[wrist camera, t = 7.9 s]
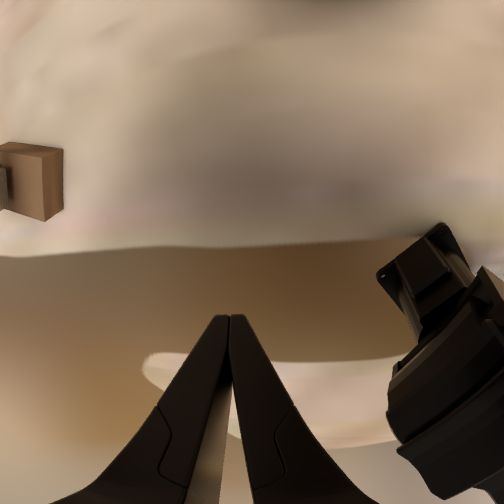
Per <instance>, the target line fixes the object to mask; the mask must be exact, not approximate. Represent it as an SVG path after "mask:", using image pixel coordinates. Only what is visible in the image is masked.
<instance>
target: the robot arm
mask: <svg viewBox="0 0 504 504" xmlns="http://www.w3.org/2000/svg"><path fill="white" fill-rule="evenodd" d="M442 229H444V231H443V232H442V233H441V230H442ZM477 274H478V275H477V276H476V277H475V276H474V275H473V274H472V272H471V270H470V268H469V266H468V264H467V262H466V260H465V258H464V255H463V253H462V251H461V250H460V247H459V245H458V244H457V242H456V240H455V238H454V236H453V234H452V232H451V230H450V228H449V227H448V226H447V225H446V224H445V223H440V224H438V225H437V226H436V227H435V228H434V229H432V230H431V231H430V232H429V233H427V234H426V235H425V236H424V237H422V238H420V239H419V240H418V241H416V242H415V243H414V244H413V245H411V246H410V247H409V248H407V249H406V250H405V251H404V252H402V253H401V254H399V255H398V256H397V257H396V258H395V259H394V260H392V261H391V262H390V263H388V264H387V265H386V266H384V267H383V268H381V269H380V270H379V271H378V272H377V273H376V278H377V280H378V282H379V283H380V285H381V286H382V287H383V288H384V289H385V291H386V292H387V293H388V294H389V295H390V297H391V298H392V299H393V301H394V302H395V303H396V304H397V306H398V307H399V308H400V309H401V311H402V312H403V313H404V314H405V316H406V318H407V321H408V324H409V326H410V329H411V331H412V334H413V337H414V339H415V342H416V345H417V346H416V347H415V348H414V349H413V350H412V351H411V352H410V353H409V354H408V355H407V356H406V357H404V358H403V359H402V360H401V361H398V362H397V363H396V364H395V365H394V366H393V372H392V380H391V381H390V383H389V388H388V393H387V395H388V410H387V411H386V419H387V421H388V424H389V426H390V428H391V430H392V432H393V434H394V436H395V437H396V438H397V440H398V441H399V442H400V443H401V444H402V445H401V446H400V447H398V448H397V453H398V454H399V455H401V456H402V457H404V458H405V459H407V460H409V462H410V463H411V464H412V465H413V466H414V467H415V468H416V469H417V470H418V471H419V473H420V474H421V476H422V478H423V479H424V481H425V483H426V485H427V486H428V488H429V490H430V491H431V493H433V494H434V495H436V496H438V497H439V498H441V499H443V500H447V499H449V498H451V497H453V496H455V495H458V494H459V493H462V492H464V491H466V490H468V489H470V488H471V487H473V488H477V489H482V490H485V491H486V492H487V493H488V494H489V496H490V497H491V498H492V500H493V501H494V502H495V504H504V282H503V281H502V280H501V279H499V278H498V277H497V276H496V275H494V274H493V273H492V272H490V271H489V270H488V269H486V268H485V267H484V266H482V267H481V268H480V269H479V271H478V272H477ZM382 275H385V276H384V277H383V278H381V276H382ZM232 384H233V390H234V397H235V403H236V409H237V415H238V421H239V427H240V433H241V439H242V445H243V450H244V456H245V461H246V467H247V472H248V478H249V482H250V488H251V493H252V498H253V503H254V504H379V503H377V502H376V501H374V500H372V499H371V498H369V497H368V496H367V495H365V494H364V493H363V492H362V491H361V490H360V489H359V488H357V486H355V485H354V483H353V482H352V481H351V480H350V479H349V478H348V477H347V476H346V474H345V473H344V472H343V471H342V470H341V469H340V468H339V466H338V465H337V464H336V463H335V462H334V460H333V459H332V458H331V457H330V455H329V454H328V453H327V452H326V451H325V449H324V448H323V447H322V446H321V444H320V443H319V442H318V440H317V439H316V438H315V436H314V435H313V434H312V432H311V431H310V429H309V428H308V426H307V424H306V423H305V421H304V420H303V418H302V417H301V415H300V413H299V411H298V410H297V408H296V406H294V403H293V401H292V399H291V398H290V396H289V394H288V392H287V391H286V389H285V387H284V385H283V383H282V382H281V380H280V378H279V376H278V374H277V373H276V371H275V369H274V367H273V365H272V364H271V362H270V360H269V358H268V356H267V355H266V353H265V351H264V349H263V347H262V345H261V344H260V342H259V340H258V338H257V336H256V335H255V333H254V331H253V329H252V327H251V325H250V323H249V321H248V319H247V318H246V316H245V315H244V314H232V315H231V316H229V315H226V314H224V315H215V316H214V317H213V318H212V320H211V322H210V323H209V325H208V326H207V328H206V329H205V331H204V332H203V334H202V335H201V337H200V338H199V340H198V342H197V343H196V345H195V346H194V348H193V349H192V351H191V352H190V354H189V355H188V357H187V358H186V360H185V361H184V363H183V364H182V366H181V367H180V369H179V371H178V372H177V374H176V375H175V377H174V378H173V380H172V381H171V383H170V384H169V386H168V387H167V389H166V390H165V392H164V394H163V395H162V397H161V398H160V400H159V401H158V403H157V406H155V407H154V408H153V410H152V412H151V413H150V415H149V416H148V418H147V419H146V421H145V422H144V423H143V425H142V426H141V428H140V429H139V430H138V432H137V433H136V434H135V435H134V437H133V438H132V439H131V440H130V441H129V443H128V444H127V445H126V446H125V447H124V449H123V450H122V451H121V452H120V453H119V454H118V455H117V456H116V458H115V459H114V460H113V461H112V462H111V463H110V464H109V466H108V467H107V468H106V469H105V470H104V471H103V472H102V473H101V475H100V476H99V477H98V478H97V479H96V480H95V481H94V482H92V483H91V484H90V485H88V486H87V487H85V488H84V489H82V490H80V491H78V492H76V493H74V494H71V495H69V496H67V497H65V498H62V499H60V500H58V501H55V502H53V503H50V504H219V497H220V488H221V480H222V472H223V462H224V455H225V446H226V438H227V430H228V421H229V413H230V405H231V396H232Z"/></svg>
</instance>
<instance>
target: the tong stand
mask: <svg viewBox="0 0 504 504" xmlns="http://www.w3.org/2000/svg"><path fill="white" fill-rule="evenodd" d="M0 168H3V169H6V179H7V191H8V201H9V206H7V207H6V208H4V209H7V210H10V211H13V212H16V213H19V214H22V215H25V216H28V217H31V218H34V219H37V220H40V221H43V222H46V221H47V220H48V219H50V218H51V217H53V216H54V215H55V214H57V213H58V212H60V211H61V210H63V149H59V148H52V147H45V146H38V145H30V144H22V143H14V142H8V143H5V144H2V145H0Z"/></svg>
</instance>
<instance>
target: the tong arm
mask: <svg viewBox="0 0 504 504" xmlns="http://www.w3.org/2000/svg"><path fill="white" fill-rule="evenodd" d="M7 206H9V201H8V191H7V179H6V169H3V168H0V211H1V210H3V209H4V208H6V207H7Z"/></svg>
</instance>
